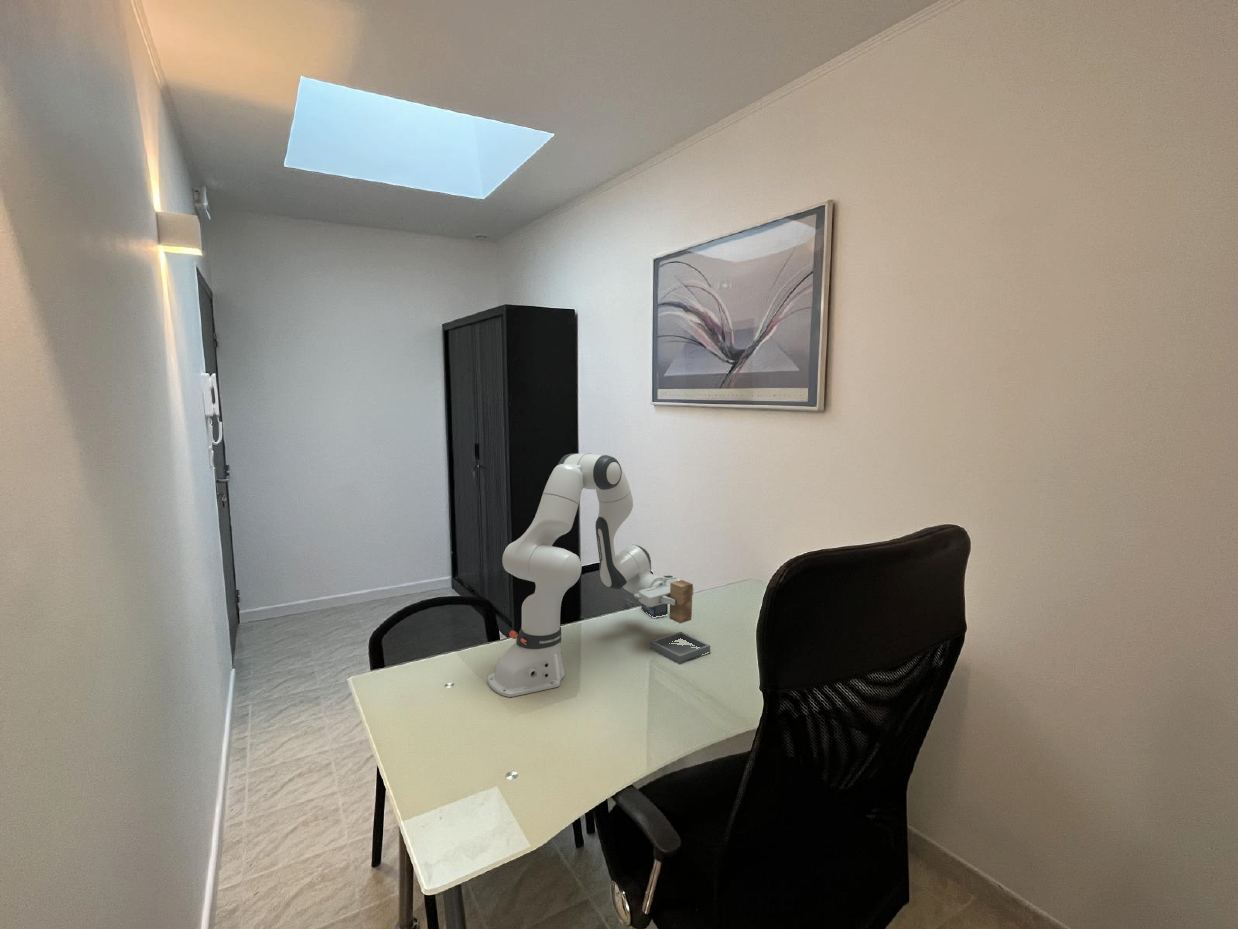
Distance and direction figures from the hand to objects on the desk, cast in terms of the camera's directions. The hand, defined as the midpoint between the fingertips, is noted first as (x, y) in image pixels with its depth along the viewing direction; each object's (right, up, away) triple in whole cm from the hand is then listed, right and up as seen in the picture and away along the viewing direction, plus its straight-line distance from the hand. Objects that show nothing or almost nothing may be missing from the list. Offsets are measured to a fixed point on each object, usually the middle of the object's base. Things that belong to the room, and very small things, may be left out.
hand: (683, 600), depth 191 cm
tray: (-1, -17, +3) cm, 17 cm away
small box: (-7, -13, +35) cm, 38 cm away
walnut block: (-1, -6, +2) cm, 7 cm away
